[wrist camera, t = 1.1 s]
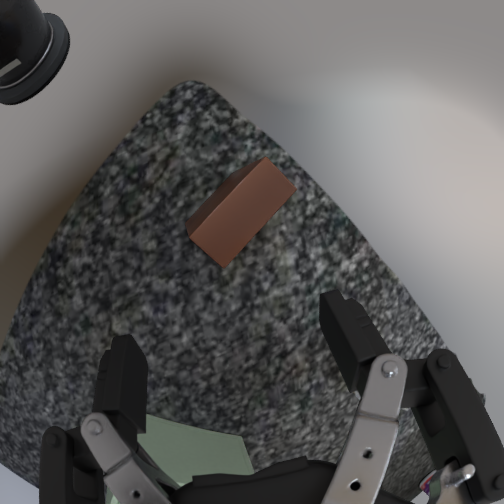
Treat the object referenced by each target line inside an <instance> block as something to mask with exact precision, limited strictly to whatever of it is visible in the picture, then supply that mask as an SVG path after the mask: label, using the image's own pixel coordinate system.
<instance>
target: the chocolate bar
mask: <svg viewBox="0 0 504 504" xmlns="http://www.w3.org/2000/svg"><path fill="white" fill-rule="evenodd" d="M296 190H297V188H296V187H295V186H294V185H293V184H292V183H291V182H290V181H289V180H288V179H287V178H286V177H285V176H284V174H283V173H282V172H281V171H280V170H279V169H278V168H277V167H276V166H275V165H274V164H273V163H272V162H271V161H270V160H269V159H268V158H267V157H264V158H262V159H260V160H257V161H255V162H253V163H251V164H249V165H247V166H245V167H243V168H241V169H239V170H237V171H235V172H233V173H232V174H231V175H230V176H229V177H228V178H227V179H226V180H225V181H224V182H223V183H222V184H221V185H220V186H219V188H218V189H217V190H216V191H215V192H214V193H213V194H212V195H211V196H210V197H209V198H208V199H207V200H206V201H205V202H204V203H203V204H202V205H201V207H200V208H199V209H198V210H197V211H196V212H195V213H194V214H193V215H192V216H191V217H190V219H189V220H188V221H187V222H186V223H185V226H186V229H187V232H188V236H189V238H190V239H191V240H192V241H193V242H194V243H195V244H196V245H198V246H199V247H200V248H201V249H202V250H203V251H204V252H205V253H206V254H208V255H209V256H210V257H211V258H212V259H213V260H214V261H215V262H217V263H218V264H219V265H220V266H221V267H222V268H225V267H226V266H227V265H228V264H229V263H230V262H231V261H232V260H233V259H234V258H235V256H236V255H237V254H238V253H239V252H240V251H241V250H242V249H243V248H244V247H245V246H246V244H247V243H248V242H249V241H250V240H251V239H252V238H253V237H254V236H255V235H256V234H257V232H258V231H259V230H260V229H261V228H262V227H263V226H264V225H265V224H266V223H267V222H268V220H269V219H270V218H271V217H272V216H273V215H274V214H275V213H276V212H277V211H278V210H279V209H280V207H281V206H282V205H283V204H284V203H285V202H286V201H287V200H288V199H289V198H290V197H291V196H292V195H293V193H294V192H295V191H296Z"/></svg>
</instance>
